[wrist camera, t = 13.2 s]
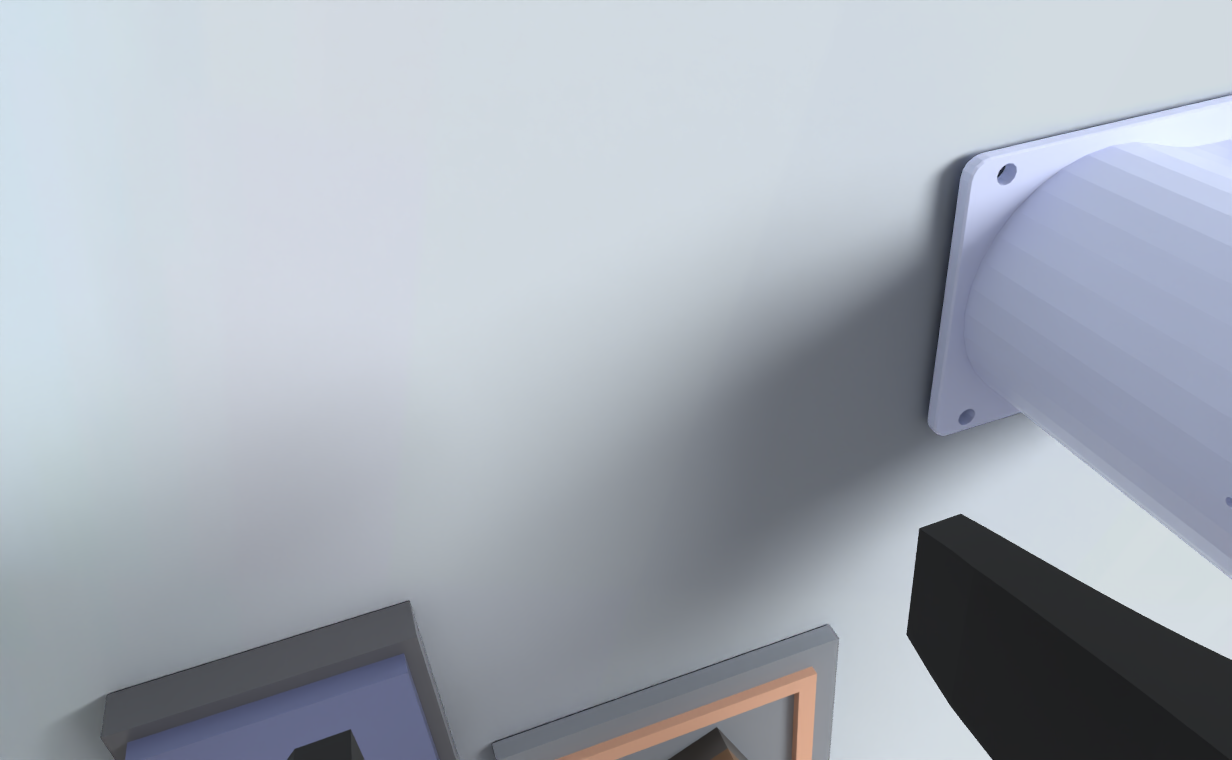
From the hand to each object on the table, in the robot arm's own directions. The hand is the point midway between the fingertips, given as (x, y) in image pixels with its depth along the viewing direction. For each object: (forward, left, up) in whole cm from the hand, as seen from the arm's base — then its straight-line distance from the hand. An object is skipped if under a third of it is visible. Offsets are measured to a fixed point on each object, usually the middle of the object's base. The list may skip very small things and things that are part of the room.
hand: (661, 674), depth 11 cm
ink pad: (+7, +11, -10) cm, 16 cm away
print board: (-3, +20, -10) cm, 22 cm away
